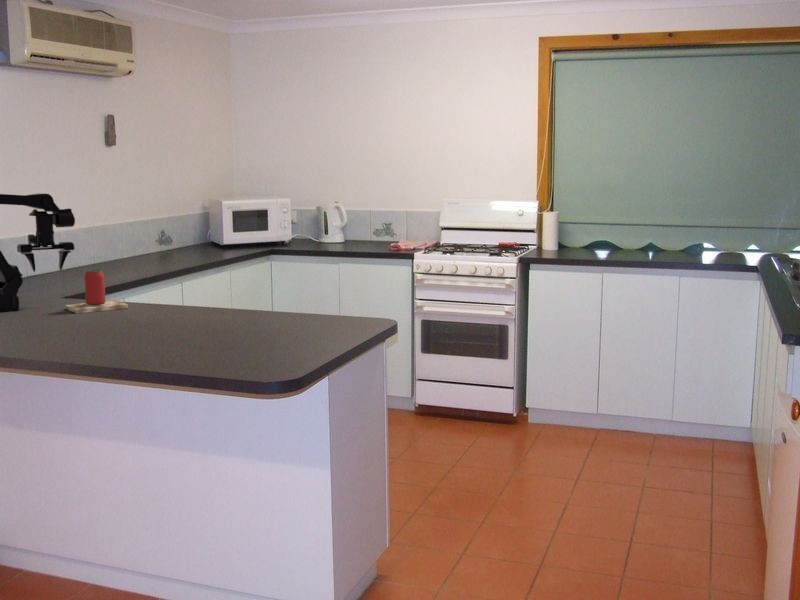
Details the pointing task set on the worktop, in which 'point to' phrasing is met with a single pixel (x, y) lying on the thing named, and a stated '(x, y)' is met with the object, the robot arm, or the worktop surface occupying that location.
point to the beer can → (94, 287)
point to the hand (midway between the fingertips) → (47, 270)
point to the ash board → (96, 307)
